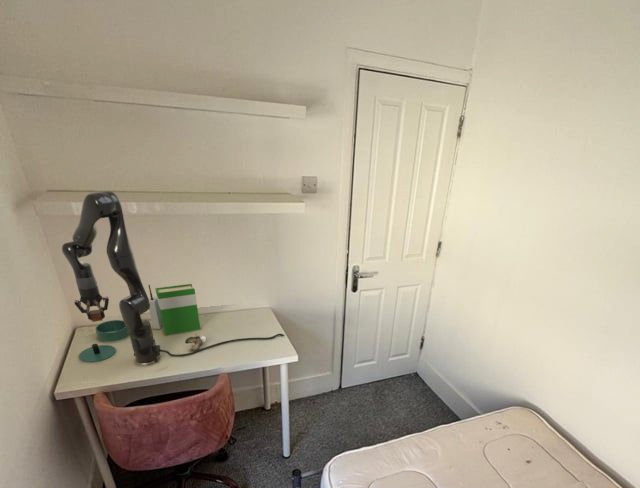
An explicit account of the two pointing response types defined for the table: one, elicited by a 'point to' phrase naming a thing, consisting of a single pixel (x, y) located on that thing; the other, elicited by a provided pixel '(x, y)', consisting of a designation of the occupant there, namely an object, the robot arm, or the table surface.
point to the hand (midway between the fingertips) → (97, 318)
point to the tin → (110, 327)
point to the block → (95, 315)
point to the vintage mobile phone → (155, 312)
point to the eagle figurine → (197, 341)
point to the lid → (97, 353)
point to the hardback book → (178, 308)
